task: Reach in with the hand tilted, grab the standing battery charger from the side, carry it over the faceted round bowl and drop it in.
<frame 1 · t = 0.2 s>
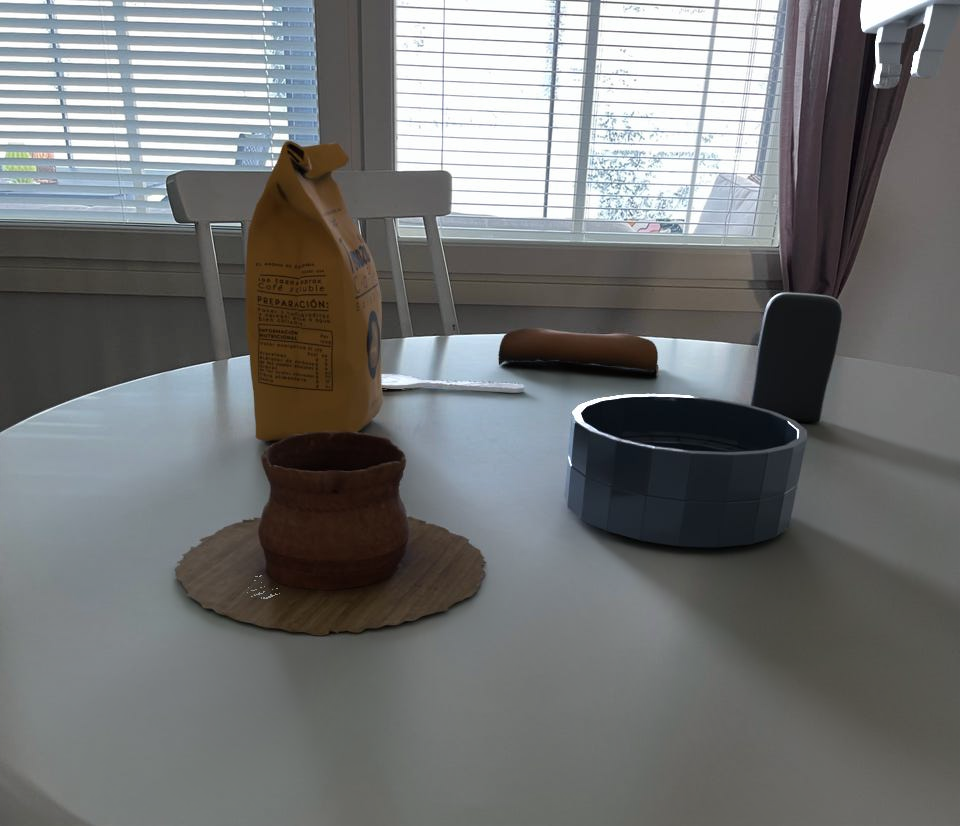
hand: (903, 82, 80), 28 cm above the table, tool pointing down, fingers open, 8 cm apart
faceted round bowl: (674, 514, 65), on the table
ceramic pot: (335, 568, 55), on the table
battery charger: (783, 419, 91), on the table
coffee package: (323, 433, 80), on the table
sunglasses case: (579, 369, 108), on the table
spoon: (436, 388, 96), on the table
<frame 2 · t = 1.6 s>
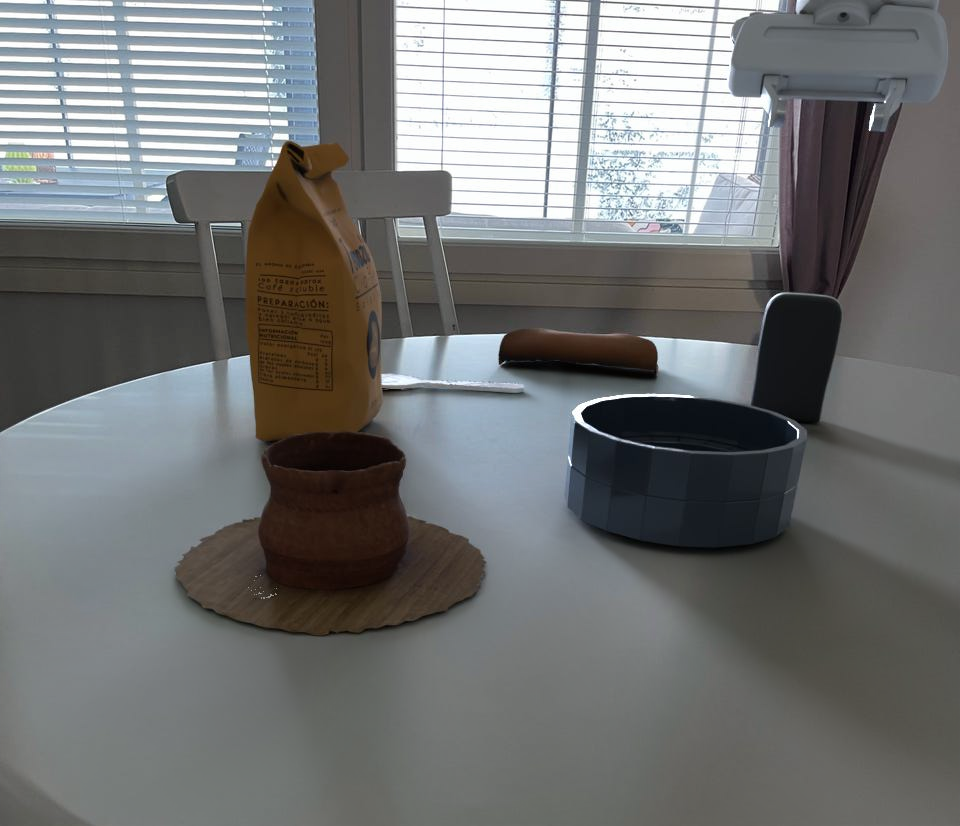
hand: (827, 124, 90), 25 cm above the table, tool tilted 45°, fingers open, 8 cm apart
nothing on the table moved.
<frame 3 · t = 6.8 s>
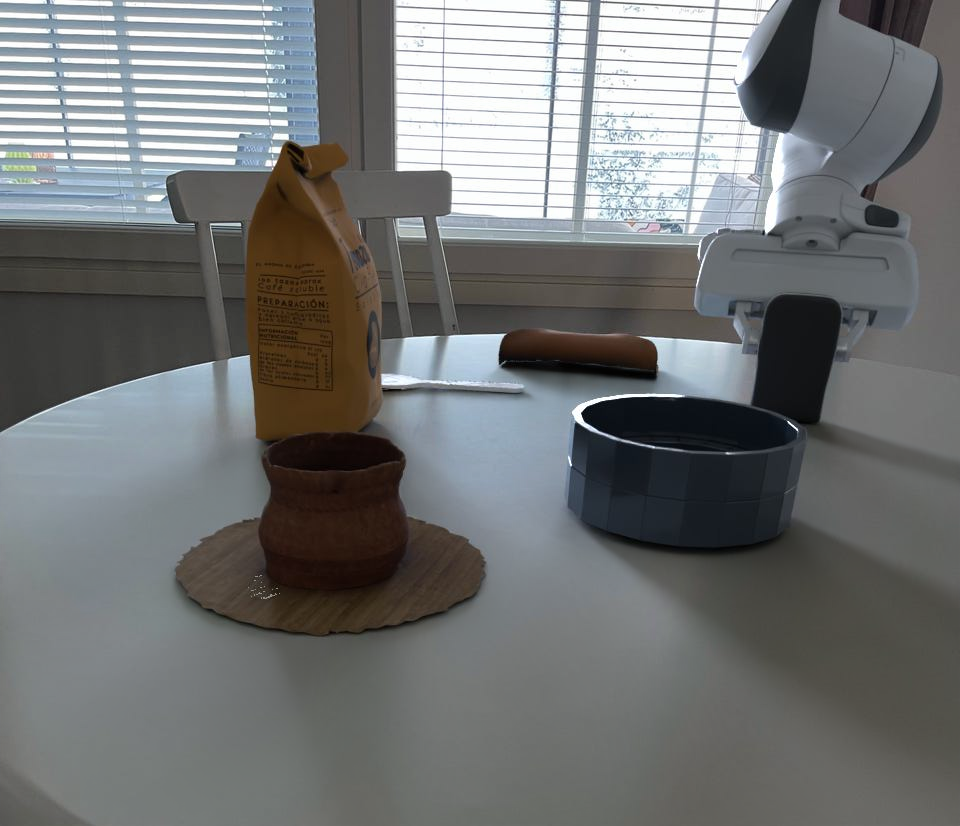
hand: (795, 354, 88), 6 cm above the table, tool tilted 45°, fingers closed on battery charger, 7 cm apart
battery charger: (783, 419, 91), on the table, touching gripper
everything else where it was.
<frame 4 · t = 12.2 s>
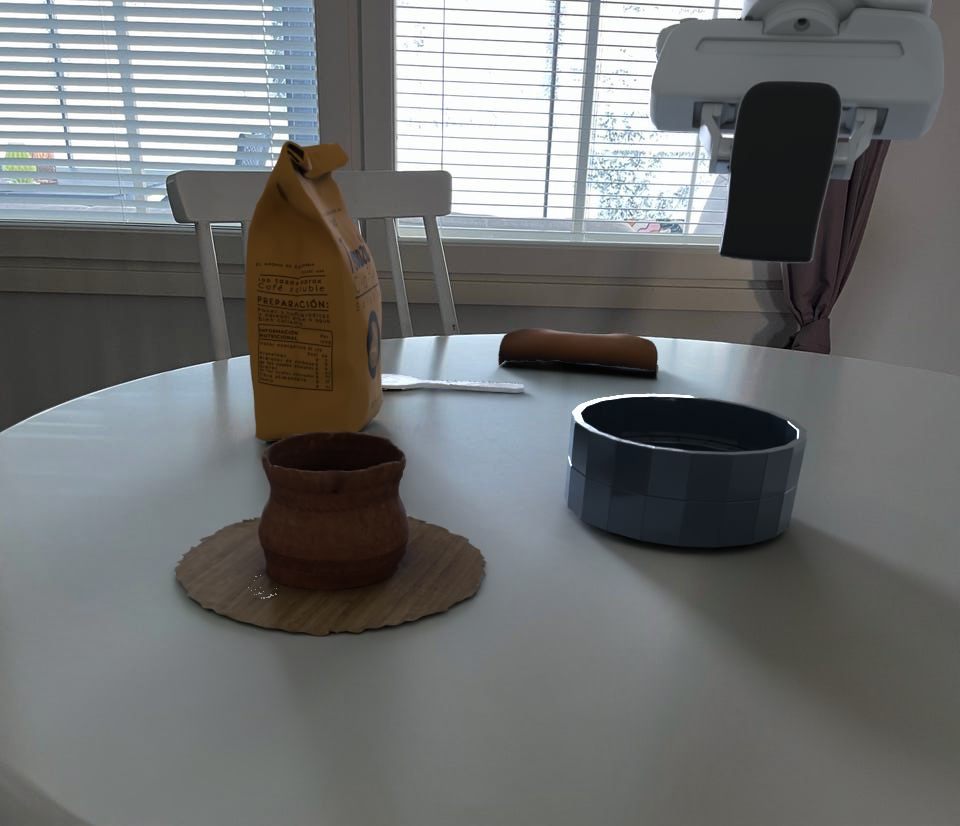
hand: (780, 169, 66), 21 cm above the table, tool tilted 45°, fingers closed on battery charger, 7 cm apart
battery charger: (763, 263, 70), point 15 cm above the table, touching gripper
everything else where it was.
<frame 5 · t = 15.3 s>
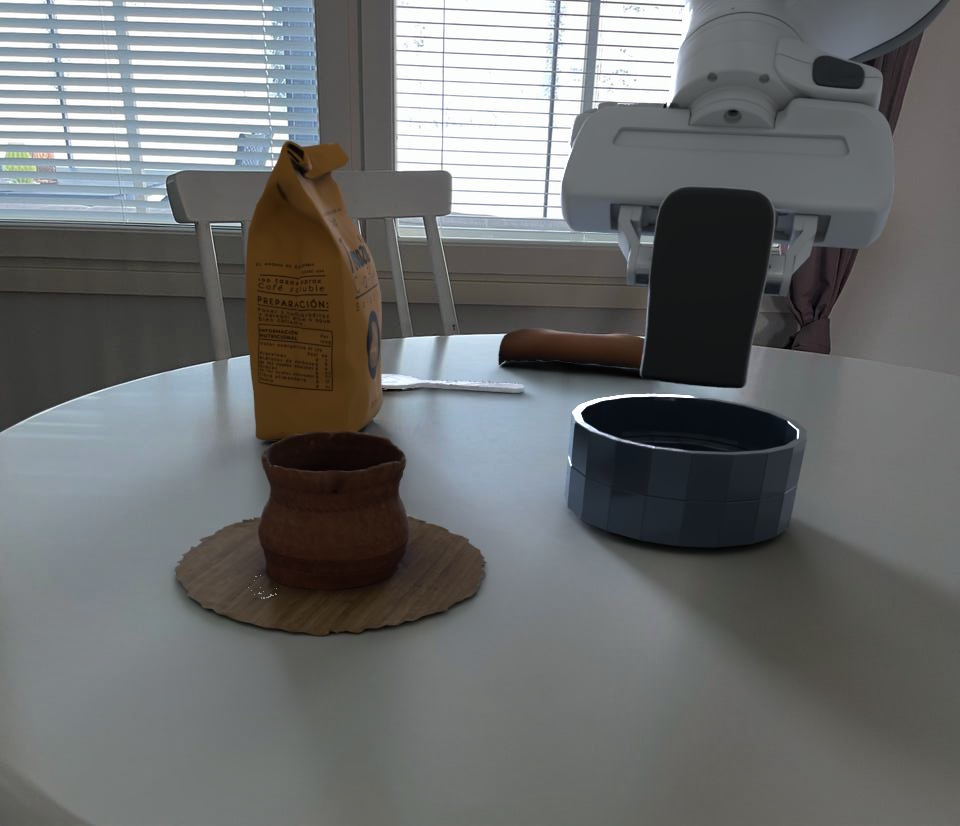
hand: (707, 284, 57), 15 cm above the table, tool tilted 45°, fingers closed on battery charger, 7 cm apart
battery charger: (692, 384, 61), point 9 cm above the table, touching gripper
everything else where it was.
when the fingers open (7 cm above the table, at t = 18.0 s): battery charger stays where it is, resting on faceted round bowl.
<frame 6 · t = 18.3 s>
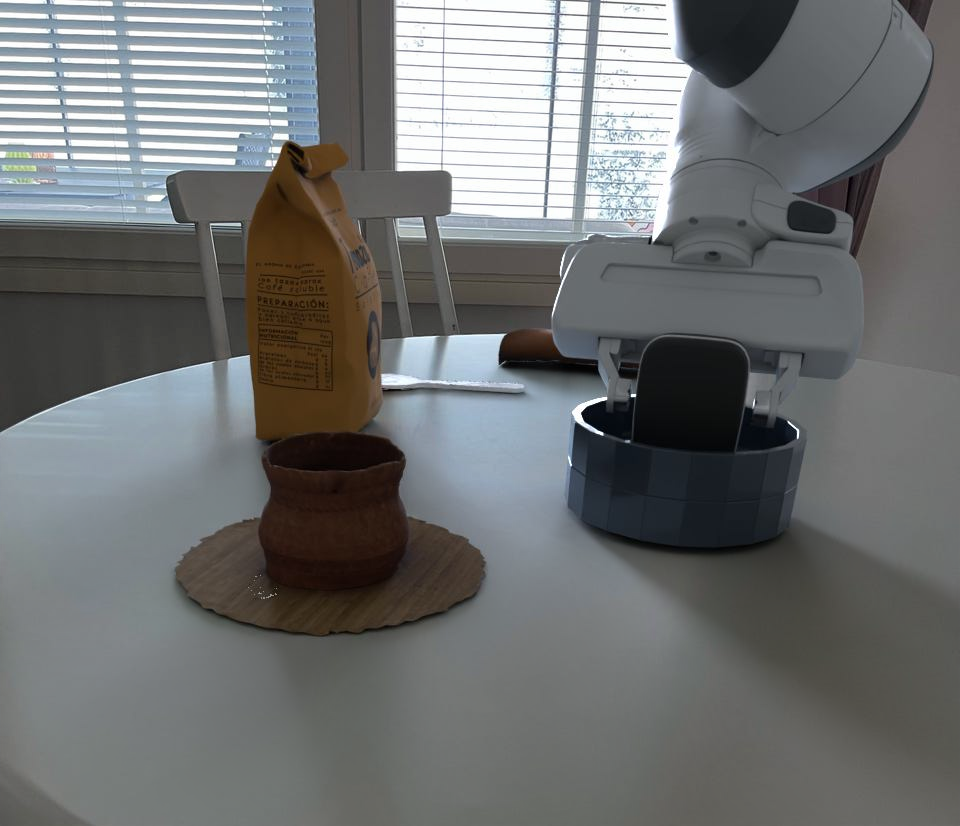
hand: (688, 415, 61), 7 cm above the table, tool tilted 45°, fingers open, 8 cm apart
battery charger: (675, 508, 65), resting on faceted round bowl
everything else where it was.
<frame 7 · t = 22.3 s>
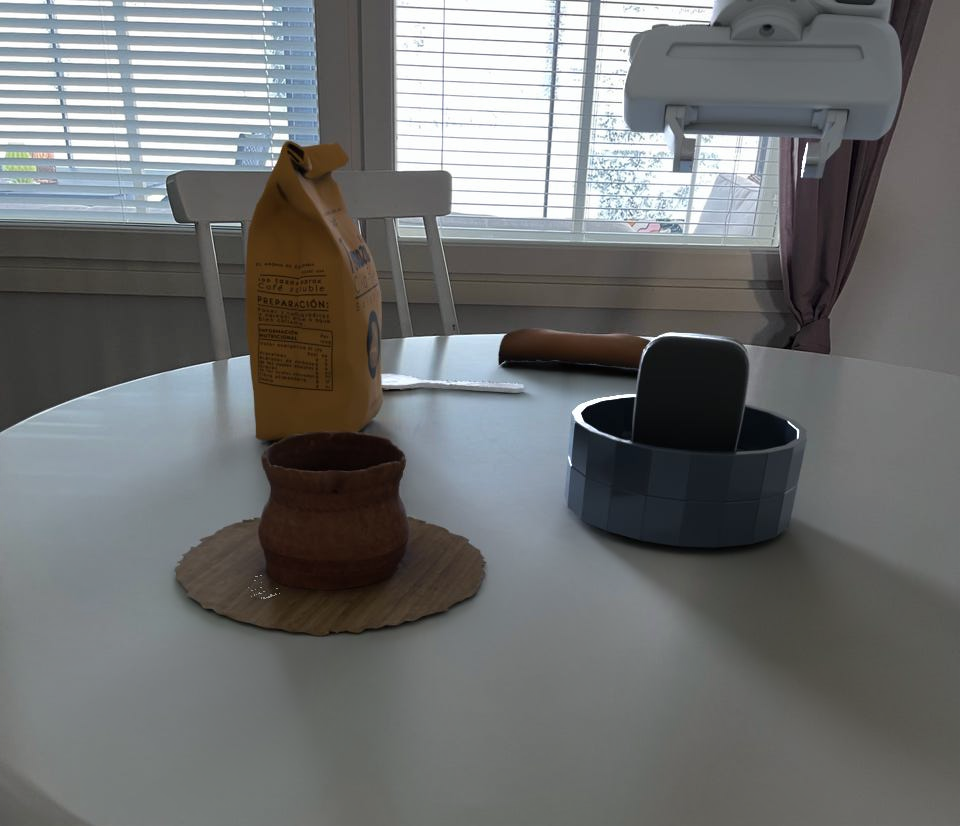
hand: (746, 168, 69), 21 cm above the table, tool tilted 45°, fingers open, 8 cm apart
nothing on the table moved.
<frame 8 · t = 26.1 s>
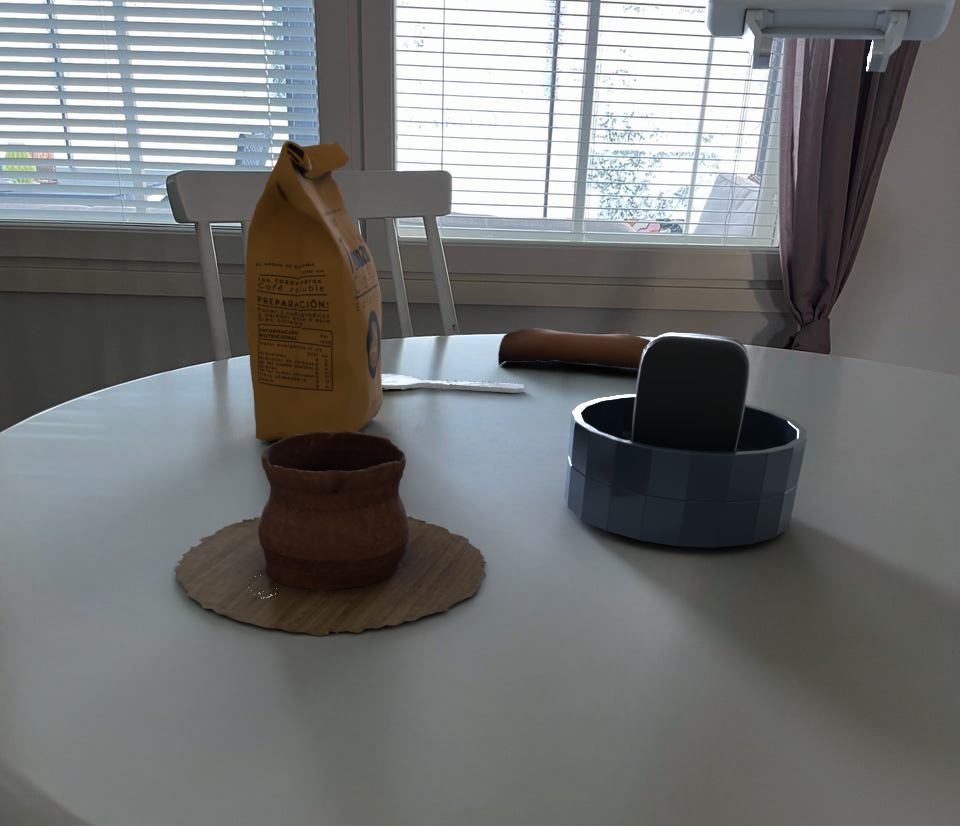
hand: (818, 63, 78), 29 cm above the table, tool tilted 45°, fingers open, 8 cm apart
nothing on the table moved.
at the end: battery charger inside the target area in the faceted round bowl (0.0 cm from its centre), point 0.4 cm above the faceted round bowl's base; the gripper is holding nothing; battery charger moved 33.1 cm from its start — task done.
